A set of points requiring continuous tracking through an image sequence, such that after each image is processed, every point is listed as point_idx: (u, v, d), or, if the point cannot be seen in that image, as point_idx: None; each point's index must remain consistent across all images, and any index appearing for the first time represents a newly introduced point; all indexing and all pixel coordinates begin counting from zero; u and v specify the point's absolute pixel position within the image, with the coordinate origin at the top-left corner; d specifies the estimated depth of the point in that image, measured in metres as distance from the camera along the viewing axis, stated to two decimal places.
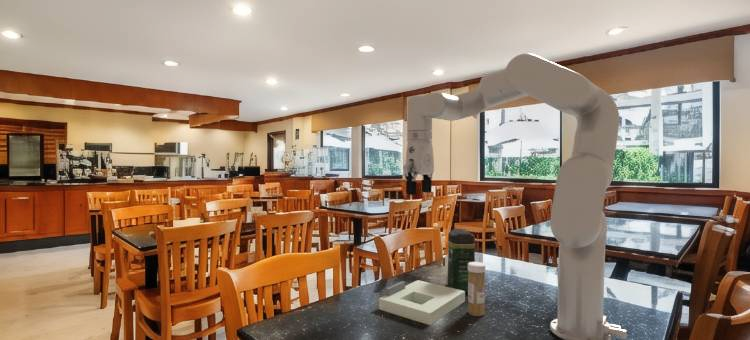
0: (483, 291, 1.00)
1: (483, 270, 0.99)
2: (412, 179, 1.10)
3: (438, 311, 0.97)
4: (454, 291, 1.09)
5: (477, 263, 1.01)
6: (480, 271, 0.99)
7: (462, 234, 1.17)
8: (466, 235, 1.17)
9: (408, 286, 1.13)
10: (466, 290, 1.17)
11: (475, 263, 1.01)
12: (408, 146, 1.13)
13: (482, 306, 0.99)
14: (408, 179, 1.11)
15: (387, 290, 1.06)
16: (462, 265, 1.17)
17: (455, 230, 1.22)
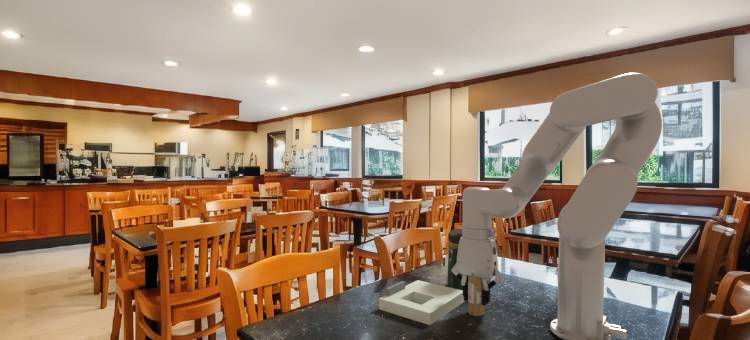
0: None
1: None
2: None
3: (438, 311, 0.97)
4: (454, 291, 1.09)
5: None
6: None
7: None
8: None
9: (408, 286, 1.13)
10: None
11: None
12: (491, 247, 0.97)
13: (482, 306, 0.99)
14: None
15: (387, 290, 1.06)
16: None
17: (455, 230, 1.22)
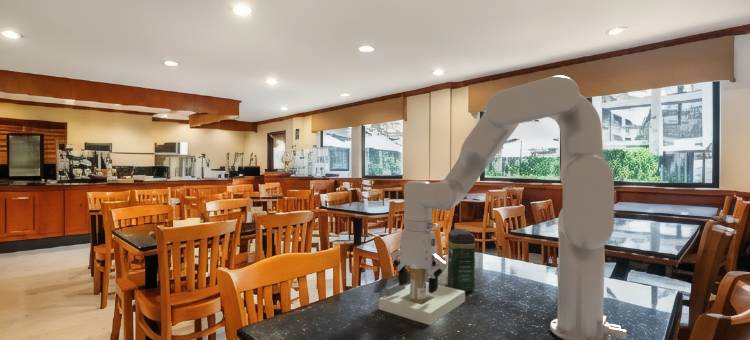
0: (424, 287, 1.03)
1: None
2: None
3: (438, 311, 0.97)
4: (454, 291, 1.09)
5: None
6: None
7: (462, 234, 1.17)
8: (466, 235, 1.17)
9: (408, 286, 1.13)
10: (466, 290, 1.17)
11: None
12: (429, 239, 1.00)
13: (423, 301, 1.03)
14: (437, 276, 1.00)
15: (387, 290, 1.06)
16: (462, 265, 1.17)
17: (455, 230, 1.22)
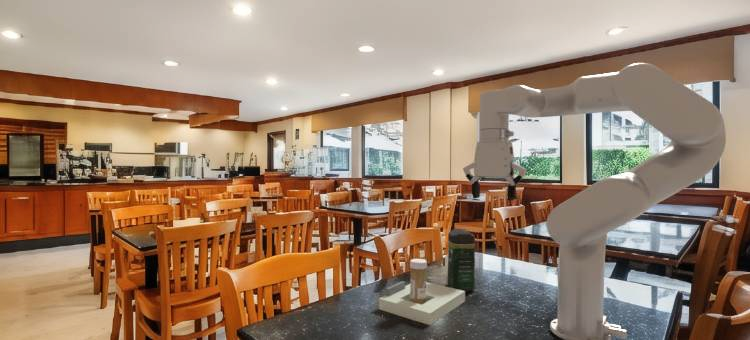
0: (424, 287, 1.03)
1: (424, 267, 1.02)
2: None
3: (438, 311, 0.97)
4: (454, 291, 1.09)
5: (419, 260, 1.04)
6: (421, 268, 1.02)
7: (462, 234, 1.17)
8: (466, 235, 1.17)
9: (408, 286, 1.13)
10: (466, 290, 1.17)
11: (417, 260, 1.04)
12: (508, 146, 1.00)
13: (423, 301, 1.03)
14: (516, 183, 1.00)
15: (387, 290, 1.06)
16: (462, 265, 1.17)
17: (455, 230, 1.22)
